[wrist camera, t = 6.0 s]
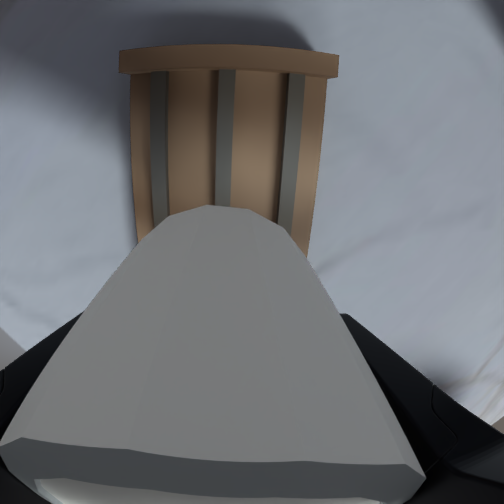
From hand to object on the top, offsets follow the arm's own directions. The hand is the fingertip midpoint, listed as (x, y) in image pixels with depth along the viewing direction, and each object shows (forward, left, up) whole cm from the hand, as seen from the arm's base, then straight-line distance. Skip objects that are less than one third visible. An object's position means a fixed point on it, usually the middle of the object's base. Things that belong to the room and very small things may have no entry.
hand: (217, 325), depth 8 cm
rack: (0, 0, -9) cm, 9 cm away
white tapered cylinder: (0, 0, -2) cm, 2 cm away
